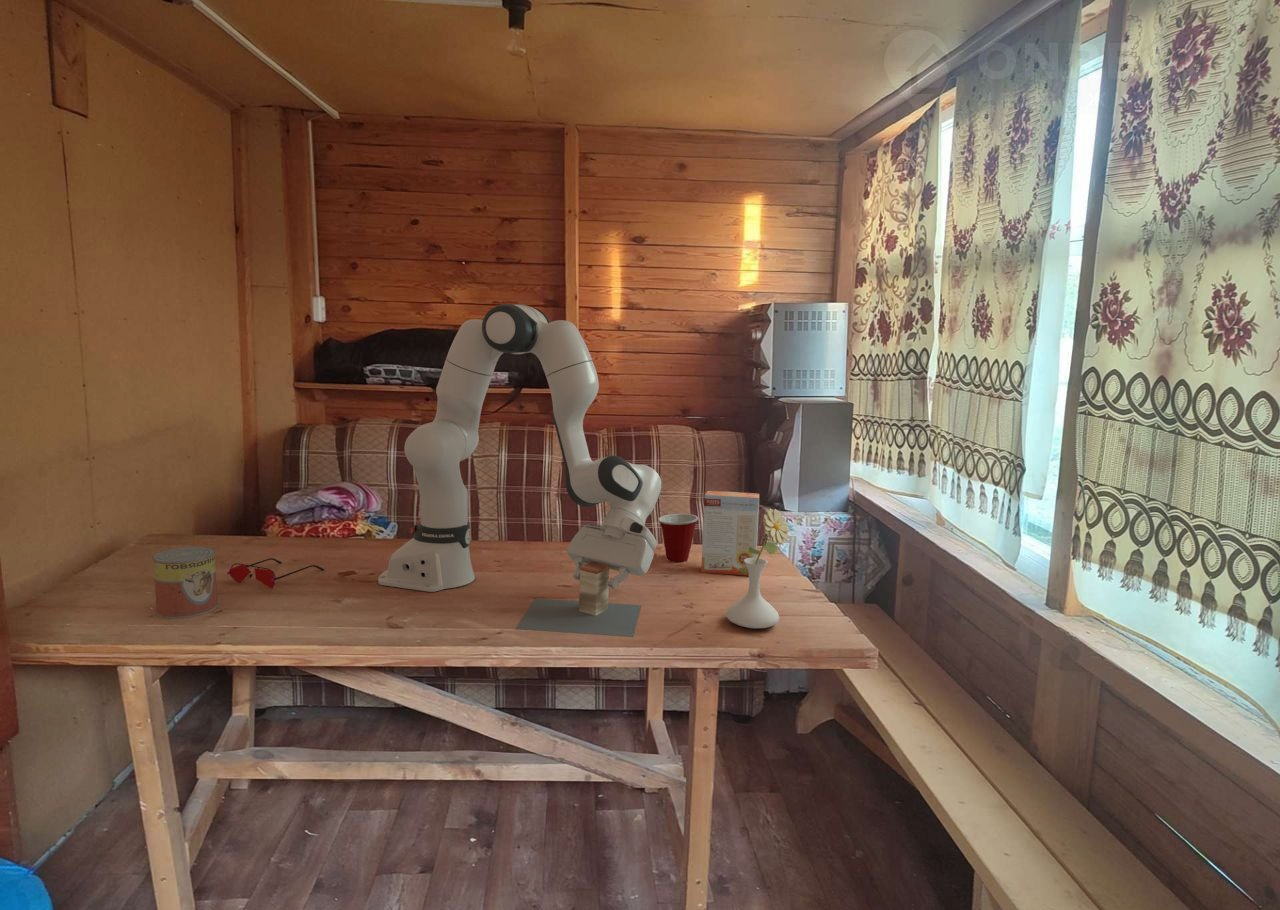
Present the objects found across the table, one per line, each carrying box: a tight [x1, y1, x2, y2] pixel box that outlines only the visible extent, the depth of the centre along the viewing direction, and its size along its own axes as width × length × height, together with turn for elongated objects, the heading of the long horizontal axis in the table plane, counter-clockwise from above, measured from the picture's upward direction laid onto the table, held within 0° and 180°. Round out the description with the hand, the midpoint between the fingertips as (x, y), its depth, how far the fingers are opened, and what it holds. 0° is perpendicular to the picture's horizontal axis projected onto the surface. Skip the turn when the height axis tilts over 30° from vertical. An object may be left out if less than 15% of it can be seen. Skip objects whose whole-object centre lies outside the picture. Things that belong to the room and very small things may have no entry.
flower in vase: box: [725, 508, 791, 629], centre depth 160 cm, size 13×11×25 cm
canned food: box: [151, 545, 219, 619], centre depth 159 cm, size 11×11×12 cm
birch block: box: [578, 562, 610, 616], centre depth 163 cm, size 4×4×10 cm
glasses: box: [226, 557, 325, 589], centre depth 182 cm, size 14×16×5 cm
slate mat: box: [515, 597, 642, 638], centre depth 161 cm, size 24×18×1 cm
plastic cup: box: [657, 513, 699, 563], centre depth 205 cm, size 11×11×12 cm
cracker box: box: [701, 490, 760, 577], centre depth 196 cm, size 14×6×21 cm, turn 80°
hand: (593, 582), depth 163 cm, fingers open, 8 cm apart
